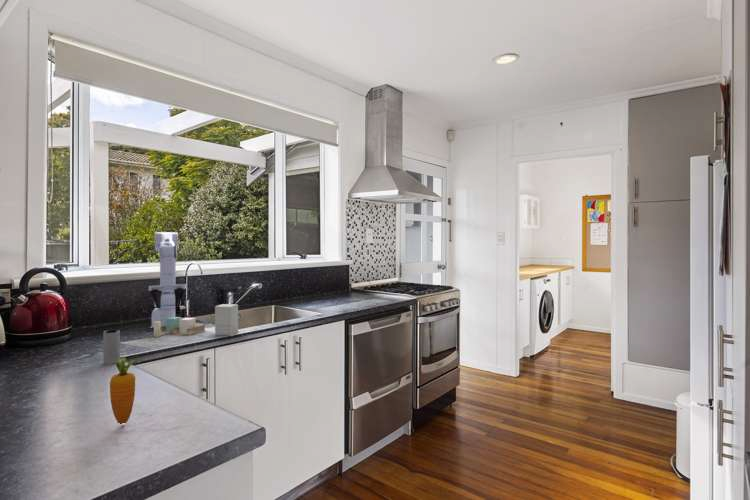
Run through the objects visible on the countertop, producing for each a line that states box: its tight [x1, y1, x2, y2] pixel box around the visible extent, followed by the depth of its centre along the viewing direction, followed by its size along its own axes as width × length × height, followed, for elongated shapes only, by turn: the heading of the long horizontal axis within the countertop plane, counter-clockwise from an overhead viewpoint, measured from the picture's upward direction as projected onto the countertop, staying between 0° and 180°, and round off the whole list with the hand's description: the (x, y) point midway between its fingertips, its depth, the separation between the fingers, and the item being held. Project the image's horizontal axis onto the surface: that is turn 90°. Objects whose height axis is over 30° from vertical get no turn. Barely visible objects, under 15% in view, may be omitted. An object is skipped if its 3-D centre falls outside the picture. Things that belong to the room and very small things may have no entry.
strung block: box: [153, 316, 183, 338], centre depth 177 cm, size 4×13×6 cm, turn 166°
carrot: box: [109, 357, 136, 424], centre depth 90 cm, size 5×5×15 cm
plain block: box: [179, 317, 197, 334], centre depth 179 cm, size 4×4×6 cm
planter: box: [102, 329, 121, 365], centre depth 137 cm, size 4×4×10 cm
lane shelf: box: [160, 323, 206, 336], centre depth 181 cm, size 15×10×3 cm, turn 76°
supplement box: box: [214, 303, 239, 337], centre depth 180 cm, size 7×7×13 cm
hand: (167, 307), depth 171 cm, fingers open, 7 cm apart
